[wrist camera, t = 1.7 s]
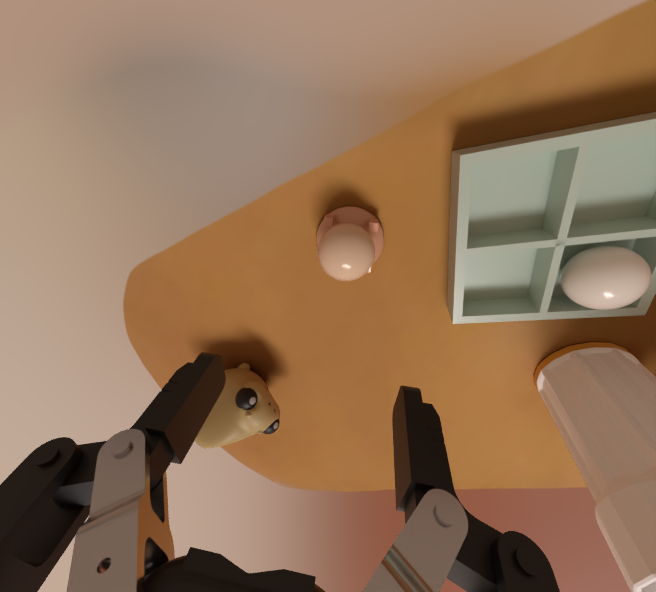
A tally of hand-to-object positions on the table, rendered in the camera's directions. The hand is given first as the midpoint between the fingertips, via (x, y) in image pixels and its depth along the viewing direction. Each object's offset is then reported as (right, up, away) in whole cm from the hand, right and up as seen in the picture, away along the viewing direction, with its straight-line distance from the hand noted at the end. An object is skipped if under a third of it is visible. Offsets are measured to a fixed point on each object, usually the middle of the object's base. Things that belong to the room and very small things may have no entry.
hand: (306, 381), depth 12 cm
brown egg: (+3, +9, +14) cm, 17 cm away
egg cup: (+3, +9, +14) cm, 17 cm away
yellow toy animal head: (-10, -8, +29) cm, 32 cm away
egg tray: (+19, +9, +11) cm, 24 cm away
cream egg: (+23, +7, +11) cm, 26 cm away
